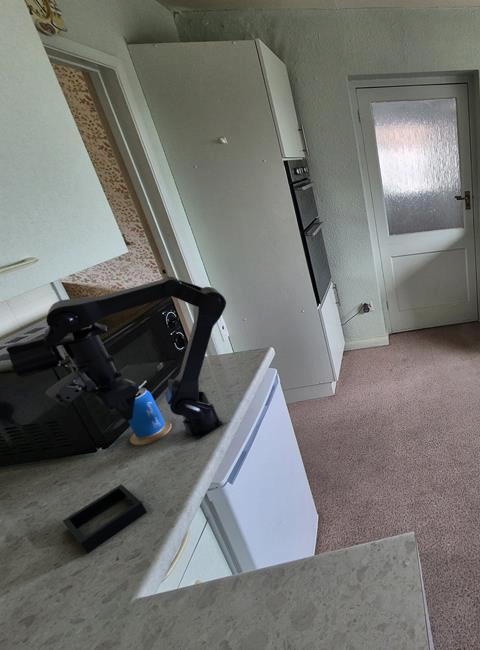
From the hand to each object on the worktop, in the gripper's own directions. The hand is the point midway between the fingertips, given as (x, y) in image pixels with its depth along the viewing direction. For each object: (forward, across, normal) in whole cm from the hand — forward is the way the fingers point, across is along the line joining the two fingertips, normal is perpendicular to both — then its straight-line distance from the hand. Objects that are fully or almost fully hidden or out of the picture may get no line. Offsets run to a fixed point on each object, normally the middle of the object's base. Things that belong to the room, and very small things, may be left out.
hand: (121, 414), depth 89 cm
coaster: (+13, -8, +5) cm, 16 cm away
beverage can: (+13, -8, +5) cm, 16 cm away
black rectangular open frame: (+13, +15, -12) cm, 23 cm away
